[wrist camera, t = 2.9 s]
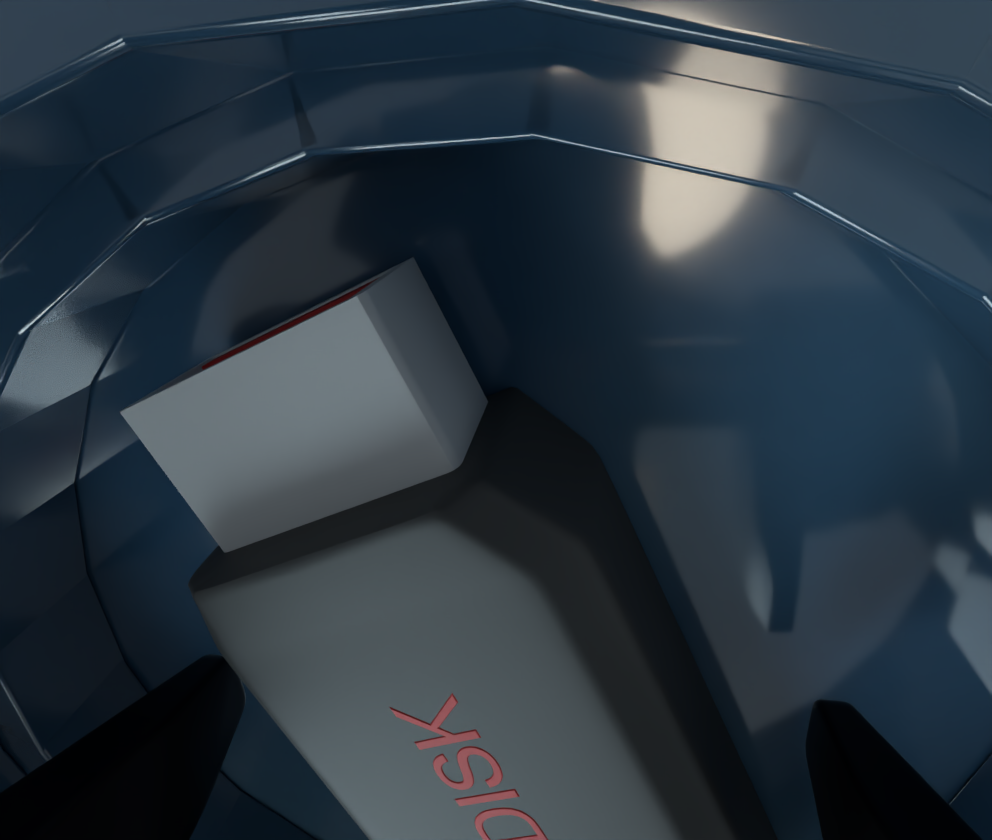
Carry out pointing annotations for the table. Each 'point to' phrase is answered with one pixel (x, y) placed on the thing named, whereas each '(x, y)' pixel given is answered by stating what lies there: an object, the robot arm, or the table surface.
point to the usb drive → (438, 588)
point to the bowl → (525, 328)
